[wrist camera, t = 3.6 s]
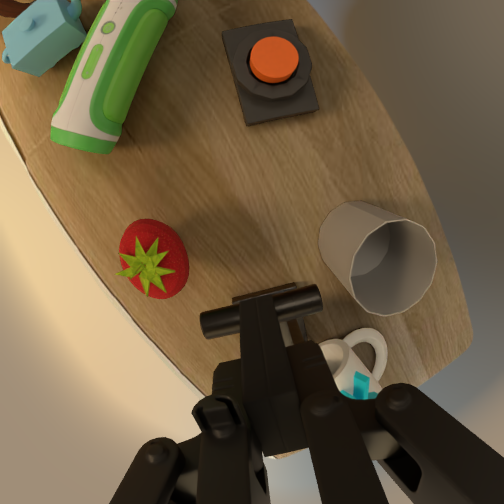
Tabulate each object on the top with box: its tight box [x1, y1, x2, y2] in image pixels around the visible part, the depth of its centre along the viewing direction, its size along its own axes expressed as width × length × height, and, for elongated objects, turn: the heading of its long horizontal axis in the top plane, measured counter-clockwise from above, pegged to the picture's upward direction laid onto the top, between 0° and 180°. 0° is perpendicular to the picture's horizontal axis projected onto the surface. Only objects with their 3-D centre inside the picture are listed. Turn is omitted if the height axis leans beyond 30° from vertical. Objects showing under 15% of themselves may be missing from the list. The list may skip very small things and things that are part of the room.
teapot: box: [2, 0, 87, 77], centre depth 21 cm, size 12×6×8 cm, turn 118°
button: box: [250, 37, 299, 83], centre depth 24 cm, size 4×4×2 cm
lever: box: [200, 284, 323, 340], centre depth 20 cm, size 14×6×2 cm, turn 14°
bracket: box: [232, 282, 308, 347], centre depth 29 cm, size 8×7×14 cm
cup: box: [318, 201, 437, 317], centre depth 29 cm, size 8×8×10 cm
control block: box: [222, 19, 319, 126], centre depth 26 cm, size 10×7×4 cm
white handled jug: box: [318, 328, 388, 399], centre depth 34 cm, size 12×9×12 cm
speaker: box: [50, 0, 178, 154], centre depth 23 cm, size 18×7×8 cm, turn 159°
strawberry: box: [116, 219, 189, 299], centre depth 28 cm, size 6×8×10 cm
